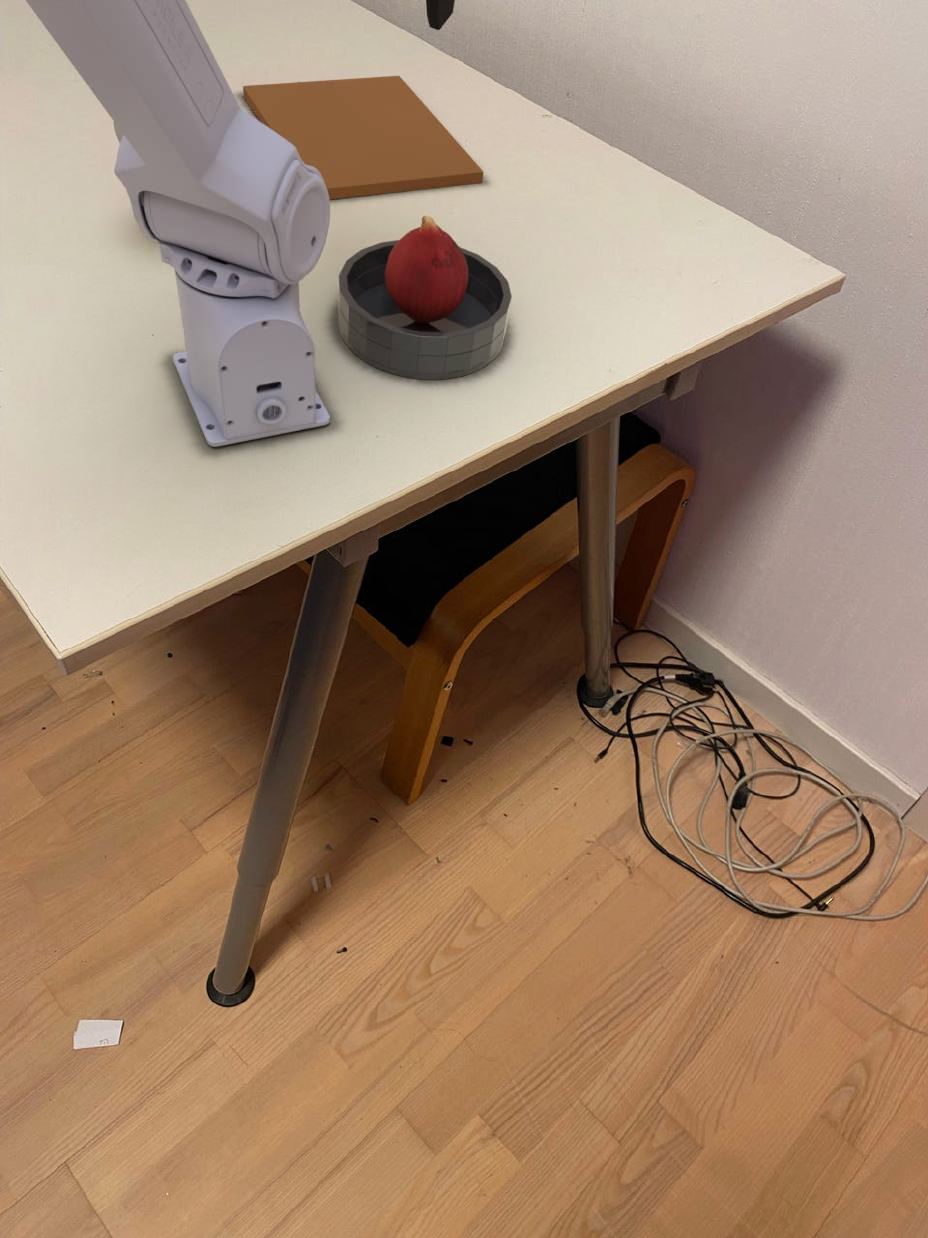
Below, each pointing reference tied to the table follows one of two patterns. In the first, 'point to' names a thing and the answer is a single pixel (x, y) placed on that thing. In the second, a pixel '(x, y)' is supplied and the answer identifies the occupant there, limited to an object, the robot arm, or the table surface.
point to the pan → (421, 347)
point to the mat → (364, 135)
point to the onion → (426, 273)
